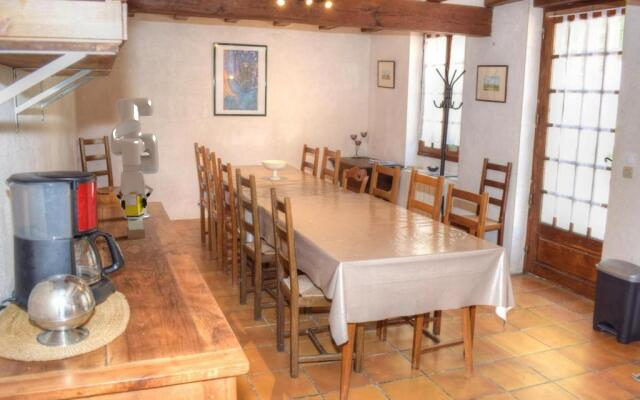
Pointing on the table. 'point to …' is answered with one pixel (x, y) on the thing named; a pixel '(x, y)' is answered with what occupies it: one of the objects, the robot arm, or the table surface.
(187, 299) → the table surface
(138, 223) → the cream square block
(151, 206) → the table surface
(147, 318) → the table surface
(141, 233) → the walnut slab
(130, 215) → the supplement box
